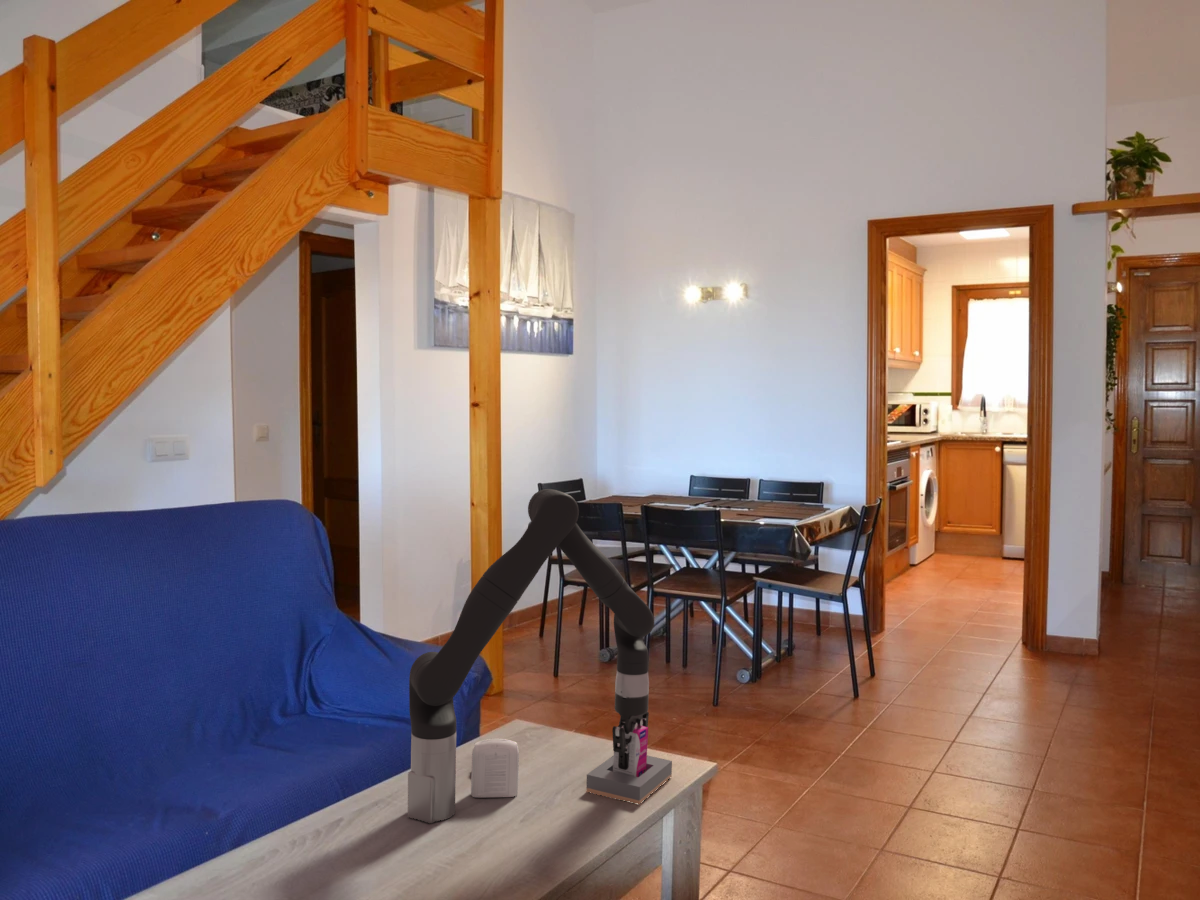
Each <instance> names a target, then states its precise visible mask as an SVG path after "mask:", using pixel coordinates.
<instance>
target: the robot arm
mask: <svg viewBox="0 0 1200 900" xmlns="http://www.w3.org/2000/svg"><path fill="white" fill-rule="evenodd" d="M579 513H580V510H579V505H578V502H577V501H576V500H575V498H574V497H573V496H571V495H570V494H567V493H565V492H563V491H561V490H557V489H552V488H544V489H541V490H538V491H537V492H535V493H534V494H533V495H532V496H531V497H530V499H529V502H528V505H527V514H528V518H529V519H530V521H531V522H530V524H529V525H528V527H527V528H526V530H525V531H524V533H523V534H522V535H521V538H520V539H519V540H518V541H517V542H516V543H515V544H514V545H513V546H512V547H511V548H510V549H508V550H507V551H506V552H505V553H504V554H502V555H501V556H500V557H499V558H497V559H496V561H494V562H493V563H492V564H491V565H490V566H489V567H488V568H487V569H486V571H485V572H483V574H482V575H481V577H480V578H479V580H478V581H477V583H476V584H475V585H474V586H473V588H472V590H471V591H470V593H469V595H468V596H467V598H466V600H465V602H464V604H463V606H462V609H461V612H460V614H459V618H458V620H457V623H456V625H455V627H454V629H453V631H452V633H451V635H450V636H449V638H448V639H447V641H446V642H445V643H444V645H443V646H442V647H441V649H440V650H439V651H429V652H425V653H423V654H421V655H420V656H418V657H417V658H416V659H415V660H414V662H413V663H412V665H411V667H410V671H409V679H408V681H409V683H408V685H409V687H408V691H409V693H408V695H409V697H408V698H409V699H408V700H409V701H408V702H409V703H408V704H409V706H408V707H409V719H410V725H411V726H410V731H411V734H410V737H411V738H410V739H411V741H410V771H409V772H408V773H407V818H409V817H410V818H409V819H413V818H414V819H413V820H416V819H418V820H417V821H420V820H422V821H421V822H423V821H425V822H424V823H427V822H428V823H427V824H430V823H431V824H434V823H435V822H434V821H436V822H440V820H441V821H444V819H445V820H447V819H450V818H451V817H452V815H453V816H454V814H455V813H456V788H457V787H456V786H457V785H456V782H457V781H456V780H457V779H456V778H457V777H456V776H457V771H456V769H457V717H456V712H455V706H454V705H455V704H454V697H455V696H456V695H457V694H458V692H459V691H460V688H461V687H462V685H463V683H464V682H465V680H466V678H467V676H468V675H469V673H470V672H471V670H472V668H473V666H474V664H475V662H476V661H477V659H478V657H479V655H480V654H481V653H482V651H484V649H485V647H486V645H487V644H488V643H489V642H490V641H491V639H492V638H493V637H494V635H495V634H496V632H497V631H498V630H499V628H500V627H501V625H502V624H503V623H504V621H505V620H506V618H507V617H508V616H509V615H510V613H512V611H513V609H514V608H515V606H516V605H517V604H518V602H519V601H520V600H521V598H522V596H523V594H524V593H525V592H526V590H527V589H528V587H529V586H530V584H531V583H532V582H533V580H534V579H535V578H536V575H537V573H538V572H539V571H540V570H541V568H542V566H543V565H544V563H545V562H546V560H548V558H549V557H550V556H551V555H552V554H553V552H554V551H555V550H556V549H557V548H559V550H560V551H562V552H563V554H564V555H565V556H566V558H568V560H569V561H570V563H572V565H573V566H574V568H575V569H576V571H578V573H579V575H580V576H581V577H582V578H583V580H584V581H585V583H586V584H587V585H588V586H589V588H590V589H591V590H592V592H593V593H594V594H595V595H596V597H597V598H598V600H599V601H600V602H601V603H602V604H603V605H605V607H607V608H608V609H610V610H611V612H613V631H614V636H615V637H614V638H615V642H616V647H617V648H616V649H617V655H616V657H617V658H616V663H617V664H616V675H615V684H614V685H615V686H614V687H615V688H614V690H615V691H614V710H615V712H616V713H618V714H619V717H620V718H619V723H618V726H616V725H613V726H612V748H613V750H612V751H613V753H614V752H619V761H618V767H619V768H620V769H624V770H627V769H628V767H629V749H630V743H631V742H632V736H631V735H630V737H629V739H626V738H625V734H629V733H630V732H632V733H633V732H634V731H636V730H637V727H639V728H640V727H642V726H645V727H648V728H649V717H650V716H649V715H650V714H649V694H650V691H649V690H650V689H649V688H650V679H649V677H650V676H649V658H650V657H649V650H648V647H647V646H646V644H645V642H644V637H646V636H648V635H650V633H651V632H652V631H653V629H654V627H655V617H654V614H653V612H652V609H651V608H650V607H649V606H648V605H647V604H646V602H645V601H644V600H643V599H642V598H641V597H640V596H639V595H638V594H637V593H636V592H635V591H634V590H633V588H631V587H630V586H629V584H628V582H627V581H626V580H625V578H624V577H623V575H622V574H621V573H620V572H619V570H618V568H616V566H615V565H614V564H613V562H611V560H610V558H609V557H607V556H606V555H605V554H604V553H603V551H601V550H600V548H598V547H597V546H596V544H594V543H593V541H591V540H590V539H589V537H588V536H587V535H586V534H585V533H584V531H583V530H582V529H581V527H580V526H579V524H578V523H577V522H578V519H579ZM625 742H626V748H625ZM617 743H618V745H617Z"/></svg>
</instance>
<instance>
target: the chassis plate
mask: <svg viewBox="0 0 1200 900" xmlns="http://www.w3.org/2000/svg"><path fill="white" fill-rule="evenodd" d="M613 759H614V754H613V755H612V756H611V757H609V758H608V759H606V760H605V761H604V762H602V763H601V764H599V765H598V766H596V767H595V768H593V770H591V771H590V772H588V773H587V774H586V787H585V788H586V790H585V791H586V793H588V792H591V793H590V794H592V793H594V794H593V795H596V794H597V795H598V796H600V795H602V796H601V797H604V796H607V797H606V798H608V797H611V798H610V799H612V798H616V799H620V800H625V801H630V802H633V803H638V804H640V803H641V802H642V801H643V800H645V799H646V798H647V797H648V796H649V795H650V794H651V793H652V792H654V791H655V790H656V789H657V788H658V787H660V785H662V784H663V783H664V782H665V781H667V780H668V779H669V778H670V777H672V772H673V771H672V770H673V761H672V760H670V759H665V758H661V757H657V756H653V755H652V756H651V755H648V754H647V762H646V772H645V773H643V774H642V775H641V776H640V777H635V776H630V775H626V774H622V773H618V772H613ZM668 781H669V780H668ZM668 781H667V782H668ZM660 788H661V787H660ZM654 793H655V792H654ZM648 798H649V797H648ZM648 798H647V799H648ZM616 799H615V800H616ZM647 799H646V800H647ZM620 800H619V801H620ZM646 800H645V801H646ZM641 804H642V803H641ZM641 804H640V805H641Z"/></svg>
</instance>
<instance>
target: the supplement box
mask: <svg viewBox="0 0 1200 900" xmlns="http://www.w3.org/2000/svg"><path fill="white" fill-rule="evenodd" d="M630 735H631V736H632V742H631V743H630V749H629V767H628V769H627V770H624V769H620V768H619V767H618V761H619V752H614V751H613V755H614V759H613V772H618V773H622V774H626V775H630V776H635V777H640V776H641V775H642V774H643V773H645V772H646V762H647V755H648V741H649V738H648V737H649V726H648V727H645V726H642V727H640V728H639V727H637V730H636V731H634V732H633V733H632V732H630V733H629V734H625V738H626V739H629V737H630ZM617 745H618V743H617ZM625 748H626V742H625Z"/></svg>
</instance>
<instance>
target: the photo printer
mask: <svg viewBox="0 0 1200 900" xmlns="http://www.w3.org/2000/svg"><path fill="white" fill-rule="evenodd" d="M519 763H520V752H519V746H518V742H516V741H514V740H510V739H505V738H488V739H483V740H479V741H477V742H475V743H474V745H473V748H472V752H471V777H470V783H471V784H470V795H471V797H472V798H511V797H513V798H515V797H516V796H518V795H519V771H520V764H519ZM514 796H515V797H514Z"/></svg>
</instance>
